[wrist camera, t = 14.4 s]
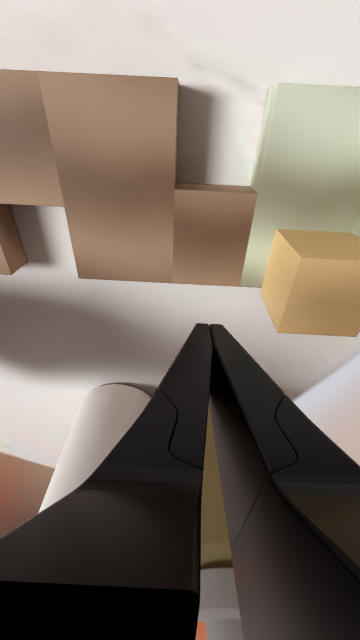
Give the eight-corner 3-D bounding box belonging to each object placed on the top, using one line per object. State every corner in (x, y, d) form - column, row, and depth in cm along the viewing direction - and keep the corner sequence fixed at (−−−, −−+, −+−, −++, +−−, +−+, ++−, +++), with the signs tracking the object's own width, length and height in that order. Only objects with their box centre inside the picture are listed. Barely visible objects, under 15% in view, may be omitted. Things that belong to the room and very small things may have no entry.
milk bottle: (69, 388, 26) (-137, 829, 10) (144, 375, 24) (52, 865, 8) (103, 432, 30) (1, 788, 14) (169, 423, 29) (140, 808, 12)
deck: (323, 276, 18) (347, 303, 15) (-74, 256, 18) (-121, 279, 15) (394, 95, 13) (451, 85, 10) (-176, 67, 13) (-278, 50, 10)
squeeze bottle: (271, 398, 26) (378, 753, 11) (210, 432, 29) (231, 733, 15) (213, 355, 23) (256, 766, 8) (153, 399, 26) (108, 736, 12)
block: (324, 296, 17) (356, 336, 14) (260, 293, 17) (277, 332, 14) (350, 232, 14) (396, 262, 11) (276, 229, 14) (301, 257, 11)
